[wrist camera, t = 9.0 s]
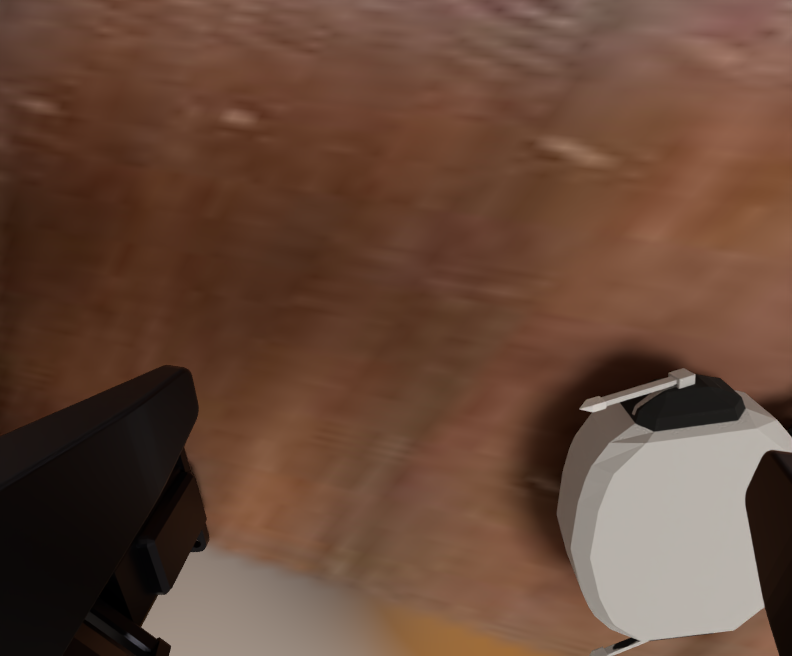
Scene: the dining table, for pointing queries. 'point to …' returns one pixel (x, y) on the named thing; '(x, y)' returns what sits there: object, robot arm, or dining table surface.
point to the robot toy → (666, 507)
